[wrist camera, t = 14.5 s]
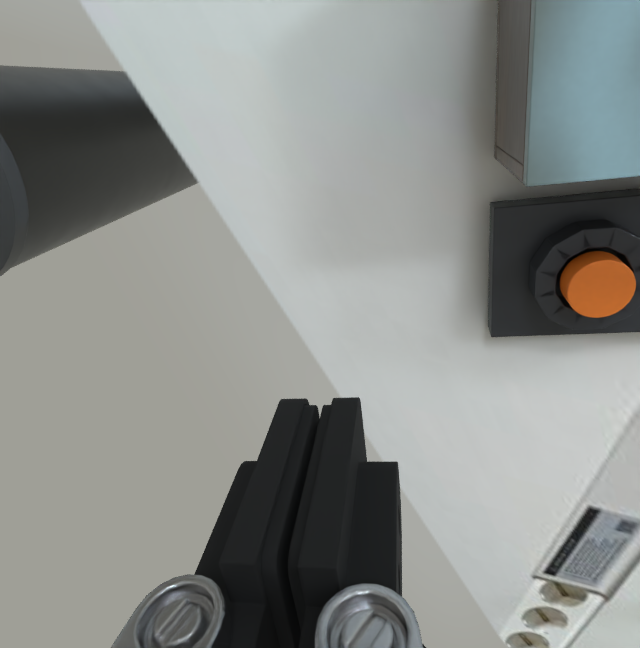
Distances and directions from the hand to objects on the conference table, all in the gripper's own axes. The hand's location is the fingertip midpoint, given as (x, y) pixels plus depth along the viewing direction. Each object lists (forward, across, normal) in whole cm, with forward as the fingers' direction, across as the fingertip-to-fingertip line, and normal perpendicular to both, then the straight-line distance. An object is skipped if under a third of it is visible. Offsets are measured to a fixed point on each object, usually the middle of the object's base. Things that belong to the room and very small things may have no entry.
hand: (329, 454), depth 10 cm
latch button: (+21, -13, +5) cm, 25 cm away
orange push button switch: (+24, -13, +5) cm, 28 cm away
